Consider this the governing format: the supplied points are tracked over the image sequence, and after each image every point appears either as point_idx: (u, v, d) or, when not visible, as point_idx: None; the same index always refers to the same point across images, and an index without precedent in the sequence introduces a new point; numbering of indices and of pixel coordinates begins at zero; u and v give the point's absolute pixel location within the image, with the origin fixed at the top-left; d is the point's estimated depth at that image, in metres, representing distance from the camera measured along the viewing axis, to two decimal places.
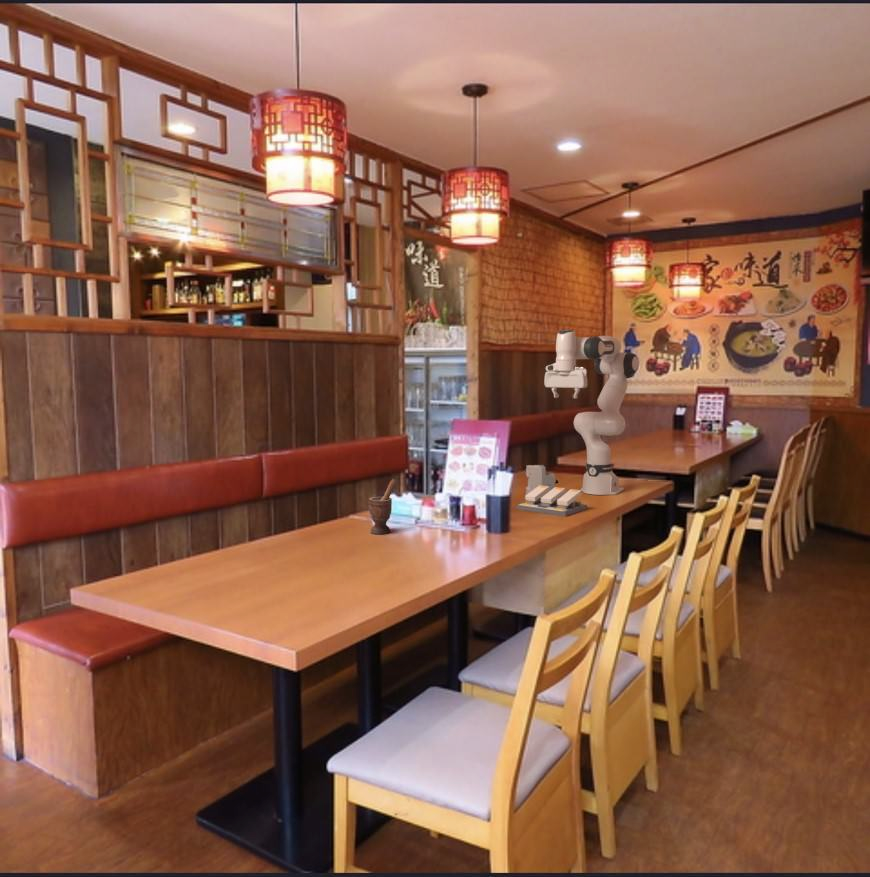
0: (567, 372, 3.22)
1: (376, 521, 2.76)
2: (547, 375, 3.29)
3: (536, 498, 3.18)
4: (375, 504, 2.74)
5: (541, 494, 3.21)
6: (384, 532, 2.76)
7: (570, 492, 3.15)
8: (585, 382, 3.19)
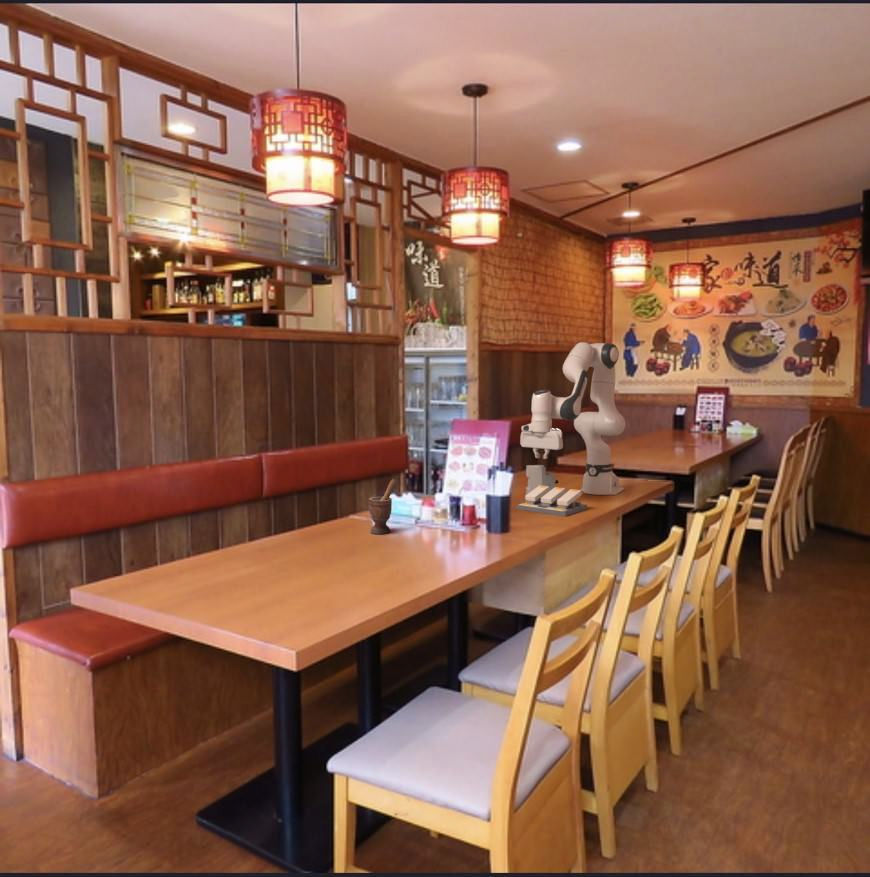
0: (542, 433, 3.19)
1: (376, 521, 2.76)
2: (523, 435, 3.26)
3: (536, 498, 3.18)
4: (375, 504, 2.74)
5: (541, 494, 3.21)
6: (384, 532, 2.76)
7: (570, 492, 3.15)
8: (560, 444, 3.16)
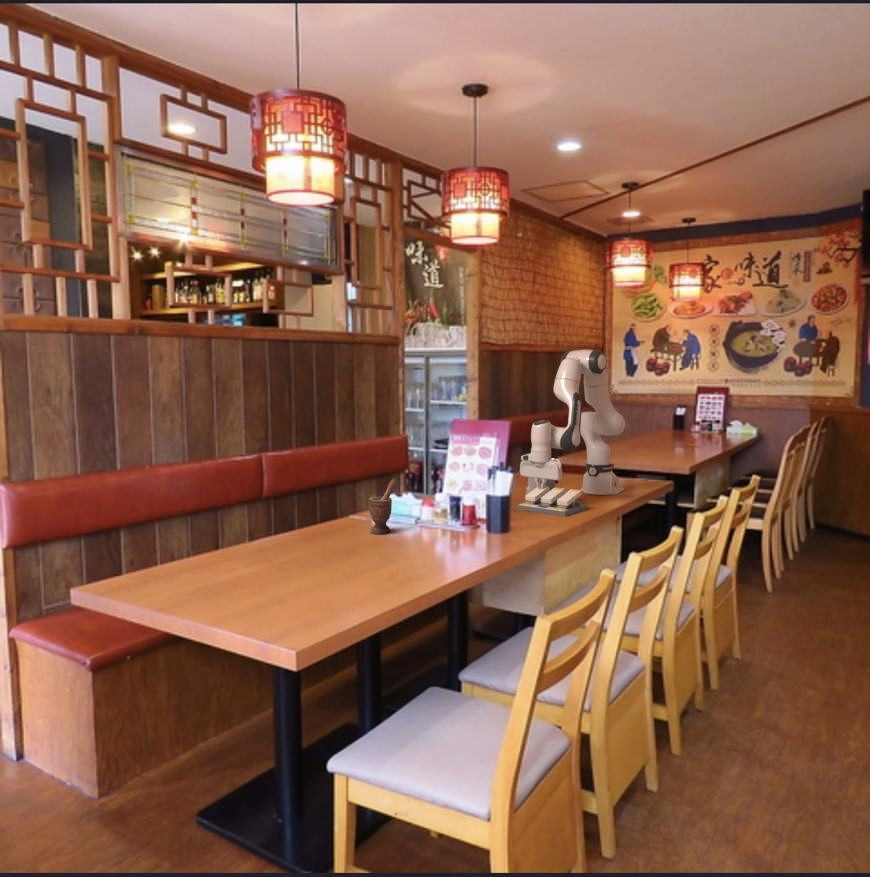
0: (542, 463, 3.20)
1: (376, 521, 2.76)
2: (522, 464, 3.27)
3: (536, 498, 3.18)
4: (375, 504, 2.74)
5: (541, 494, 3.21)
6: (384, 532, 2.76)
7: (570, 492, 3.15)
8: (560, 474, 3.17)
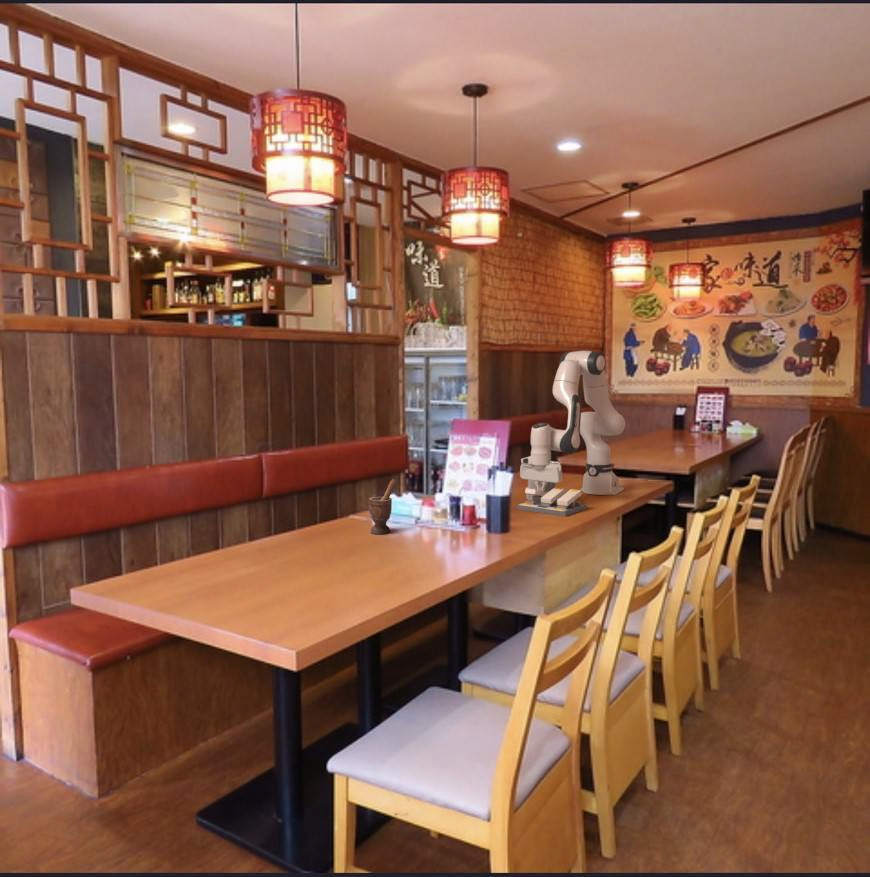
0: (542, 466, 3.20)
1: (376, 521, 2.76)
2: (522, 467, 3.27)
3: (536, 492, 3.17)
4: (375, 504, 2.74)
5: (541, 493, 3.21)
6: (384, 532, 2.76)
7: (570, 492, 3.15)
8: (560, 477, 3.17)
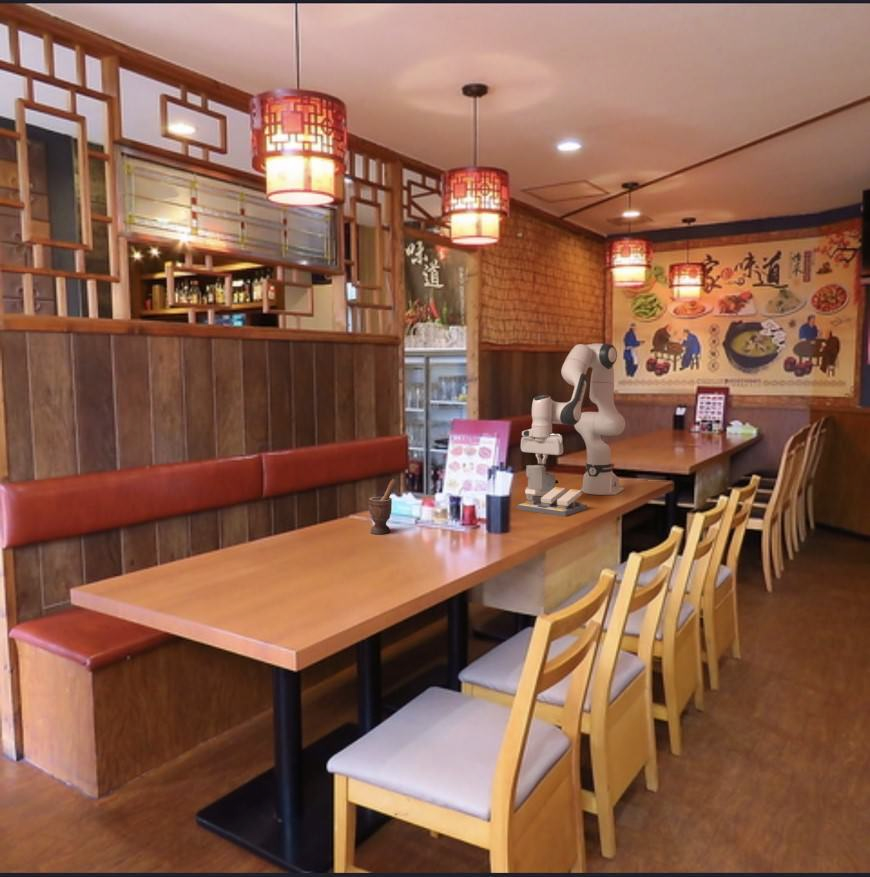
0: (543, 438, 3.19)
1: (376, 521, 2.76)
2: (523, 440, 3.26)
3: (536, 492, 3.17)
4: (375, 504, 2.74)
5: (541, 493, 3.21)
6: (384, 532, 2.76)
7: (570, 492, 3.15)
8: (561, 449, 3.16)
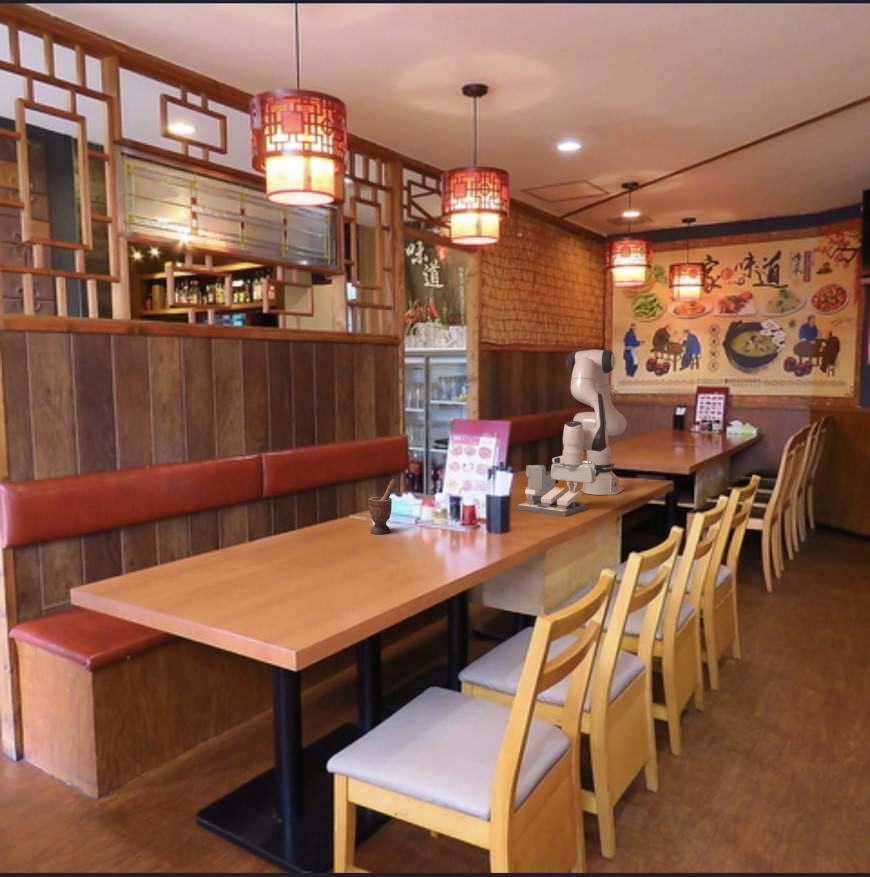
0: (574, 466, 3.10)
1: (376, 521, 2.76)
2: (554, 467, 3.17)
3: (536, 492, 3.17)
4: (375, 504, 2.74)
5: (541, 493, 3.21)
6: (384, 532, 2.76)
7: (570, 492, 3.15)
8: (593, 477, 3.07)
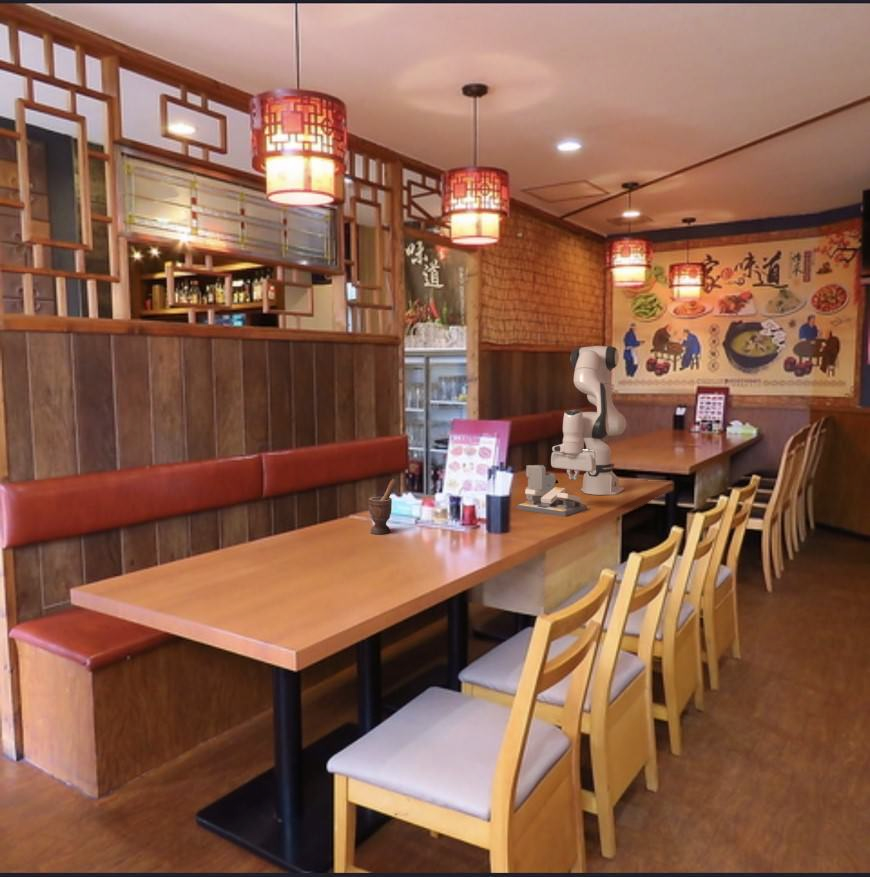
0: (575, 454, 3.09)
1: (376, 521, 2.76)
2: (554, 455, 3.16)
3: (536, 492, 3.17)
4: (375, 504, 2.74)
5: (541, 493, 3.21)
6: (384, 532, 2.76)
7: None
8: (594, 465, 3.07)
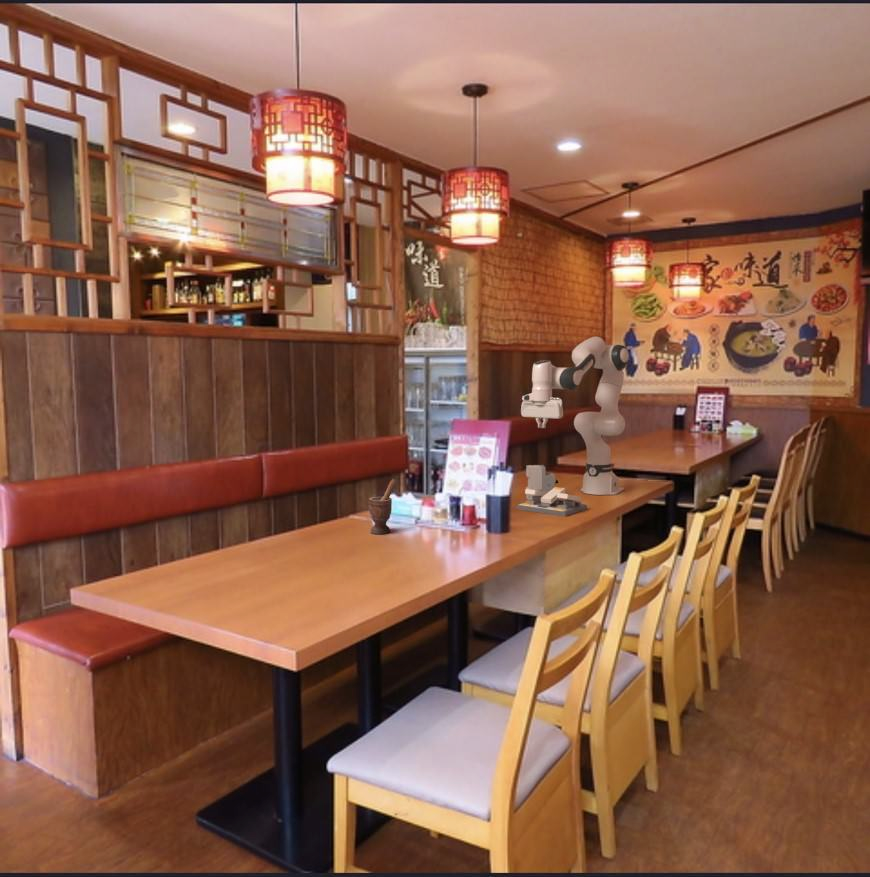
0: (543, 402, 3.23)
1: (376, 521, 2.76)
2: (523, 405, 3.30)
3: (536, 492, 3.17)
4: (375, 504, 2.74)
5: (541, 493, 3.21)
6: (384, 532, 2.76)
7: None
8: (561, 413, 3.20)
